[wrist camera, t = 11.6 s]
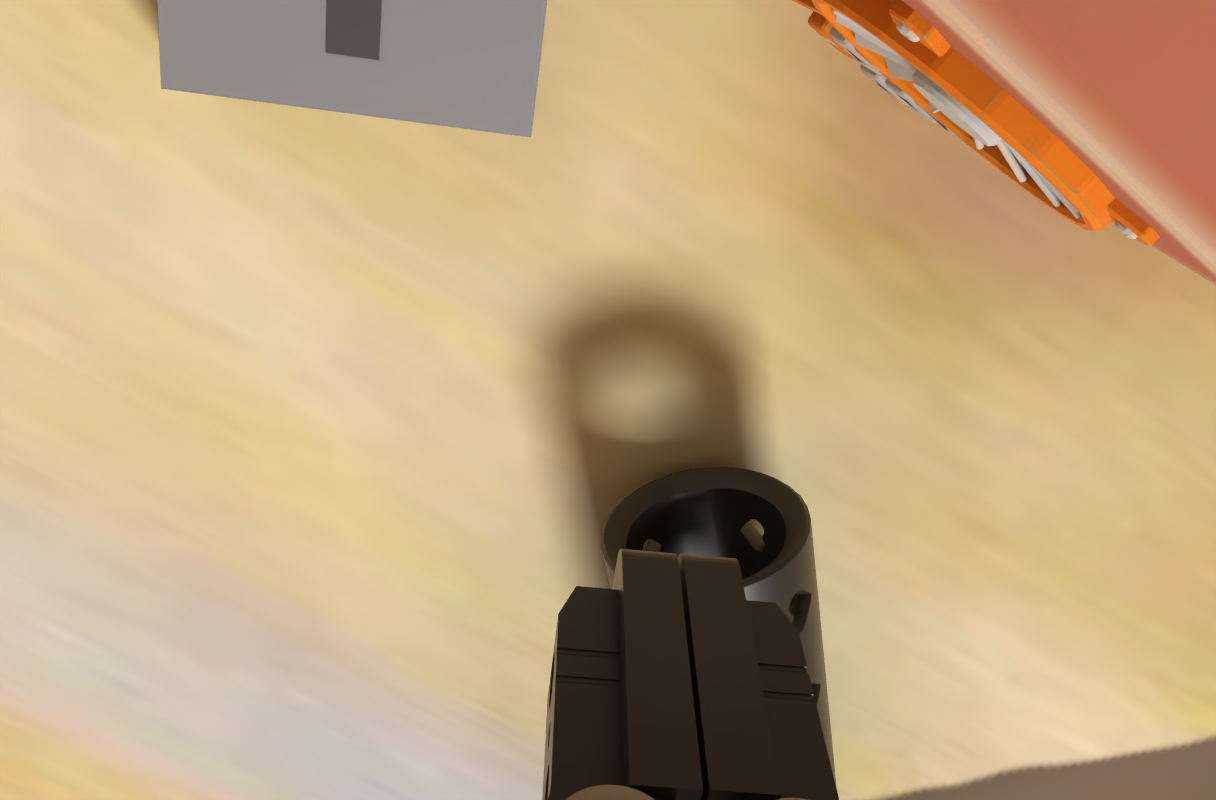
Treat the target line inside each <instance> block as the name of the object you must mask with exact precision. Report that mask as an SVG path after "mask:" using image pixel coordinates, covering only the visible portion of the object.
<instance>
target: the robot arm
mask: <svg viewBox="0 0 1216 800" xmlns="http://www.w3.org/2000/svg"><path fill="white" fill-rule="evenodd" d="M813 696H814V693H813V689H812V685H811V681H810V677H809V674H807V664H806V660H805V656H804V652H803V647H802V643H801V639H800V635H799V633H798V631H797V630H796V629H795V627H794V626H793V625H792V623H791V622H790V621H789V619H788V618H787V617H786V615H785V614H784V613H783V611H782V610H781V609H780V607H779V606H778V605H777V604H776V603H774V602H762V601H750V600H746V596H745V591H744V586H743V580H742V575H741V569H740V565H739V562H738V560H737V559H735V558H724V557H712V556H701V555H689V554H679V556H677V554H675V553H663V552H652V551H640V550H629V549H620V550H619V552H618V556H617V562H616V568H615V574H614V580H613V587H612V589H604V588H592V587H580V586H576V588H575V589H574V591H573V592H572V594H571V595H570V597H569V599H568V600H567V602H566V603H565V605H564V606H563V608H562V609H561V611H560V612H559V614H558V622H557V630H556V638H555V646H554V654H553V662H552V670H551V677H550V685H549V693H548V704H547V723H546V742H545V762H544V763H545V765H544V781H543V800H839V797H838V793H837V789H836V785H835V781H834V776H833V772H832V768H831V764H830V760H829V756H828V752H827V747H826V743H825V739H824V735H823V731H822V727H821V722H820V718H819V714H818V710H817V706H816V702H815V701H813Z"/></svg>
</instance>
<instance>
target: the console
mask: <svg viewBox="0 0 1216 800" xmlns="http://www.w3.org/2000/svg"><path fill="white" fill-rule="evenodd" d="M546 5H547V0H157V6H158V28H159V50H160V72H161V89H168V90H176V91H183V92H191V93H199V94H206V95H214V96H221V97H229V98H236V99H244V100H252V101H259V102H267V103H274V104H282V105H289V106H297V107H305V108H312V109H320V110H327V111H335V112H342V113H350V114H358V115H365V116H373V117H380V118H388V119H395V120H403V121H411V122H418V123H426V124H433V125H441V126H448V127H456V128H464V129H471V130H479V131H486V132H494V133H501V134H509V135H517V136H524V137H531V133H532V125H533V116H534V108H535V99H536V91H537V82H538V73H539V65H540V56H541V48H542V39H543V31H544V22H545V14H546Z"/></svg>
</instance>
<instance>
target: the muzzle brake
mask: <svg viewBox="0 0 1216 800" xmlns="http://www.w3.org/2000/svg"><path fill="white" fill-rule="evenodd" d="M751 519H755V520H757V521H758V522H760V523H761V525H762V526H763V528H764V535H763V536H761V535H760V534H759V533H758V532H757V531H756V530H755V529H754V527H753V526H752V525H751V524H749V523H748V521H749V520H751ZM647 539H651V540H650V541H649V543H648V545H647V548H646V551H652V552H663V553H675V554H677V556H679V554H689V555H701V556H712V557H724V558H735V559H737V560H738V562H739V565H740V569H741V575H742V580H743V586H744V591H745V596H746V600H750V601H762V602H774V603H776V604H777V605H778V606H779V607H780V609H781V610H782V611H783V613H784V614H785V615H786V617H787V618H788V619H789V621H790V622H791V623H792V625H793V626H794V627H795V629H796V630H797V631H798V633H799V635H800V639H801V643H802V647H803V652H804V656H805V660H806V664H807V674H809V677H810V681H811V685H812V689H813V693H814V696H813V701H815V702H816V706H817V710H818V714H819V718H820V722H821V727H822V731H823V735H824V739H825V743H826V747H827V752H828V756H829V760H830V764H831V768H832V772H833V776H834V781H835V785H836V779H835V768H834V758H833V747H832V737H831V727H830V716H829V706H828V695H827V685H826V674H825V664H824V653H823V643H822V632H821V622H820V611H819V601H818V590H817V580H816V569H815V559H814V548H813V538H812V527H811V518H810V515H809V511H808V507H807V505H806V504H805V502H804V501H803V499H802V497H801V496H800V495H799V494H798V493H797V492H795V491H794V490H793V489H792V488H791V487H790V486H788V485H786V484H785V483H783V482H781V481H779V480H778V479H776V478H773V477H770V476H768V475H765V474H762V473H760V472H755V471H751V470H746V469H739V468H728V467H719V468H704V469H694V470H689V471H683V472H678V473H675V474H673V475H668V476H666V477H663V478H660V479H658V480H655V481H652V482H651V483H649V484H647V485H645V486H643V487H641V488H639V489H637V490H636V491H635V492H633V493H632V494H631V495H629V496H628V497H626V498H625V499H624V500H623V501H622V502H621V503H620V504H619V505H618V506H617V507H616V508H615V509H614V510H613V511H612V513H611V514H610V516H609V517H608V519H607V520H606V522H605V524H604V527H603V530H602V533H601V550H602V555H603V559H604V564H605V568H606V573H607V578H608V581H609V585H610V588H611V589H612V587H613V580H614V574H615V568H616V562H617V556H618V552H619V550H620V549H629V550H640V551H642V548H643V545H644V543H645V541H646V540H647Z"/></svg>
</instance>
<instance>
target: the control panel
mask: <svg viewBox="0 0 1216 800" xmlns="http://www.w3.org/2000/svg"><path fill="white" fill-rule="evenodd" d="M793 1H795V2H797V3H799V4H801V5H803V6H805V7H807V8H809V9H811V10H812V11H813V13H812V15H811V16H810V17H809V20H808V23H809V25H810V26H811V27H812V28H813V29H814V30H816V31H817V32H818V33H819V34H820V35H821V36H822V37H824V38H825V39H826V40H827V41H828V42H829V43H830V44H832V45H833V46H834V47H835V48H836V49H837V50H838V51H840V52H841V53H843V54H845V55H846V56H848V57H850V58H851V59H856V60H857V61H859V62H860V63H861V64H862V65H861V67H860V68H861V70H862V72H864V73H865V74H866V75H867V76H868V77H869V78H870V79H872V80H873V81H874V82H875V83H876V84H877V85H878V86H880V87H881V88H882V89H883V90H884V91H885V92H887V93H888V94H889V95H890V96H891V97H893V98H894V99H896V100H898V101H899V102H901V103H902V104H904V105H909V106H910V107H911V108H912V109H913V110H914V111H916V112H917V113H918V114H920V115H921V116H923V117H925V118H926V119H928V120H929V121H931V122H933V123H938V124H939V125H940V126H941V127H942V128H944V129H945V130H946V131H947V132H948V133H950V134H952V135H953V136H955V137H956V138H958V139H960V140H961V141H963V142H964V143H966V144H967V145H969V146H970V147H971V148H972V149H974V150H975V151H976V152H977V153H979V154H980V155H981V156H982V157H984V158H985V159H986V160H988V161H989V162H990V163H991V164H993V165H994V166H995V167H996V168H998V169H999V170H1000V171H1001V172H1003V173H1004V174H1005V175H1007V176H1008V177H1010V178H1011V179H1012V180H1014V181H1015V182H1016V183H1018V184H1019V185H1020V186H1022V187H1023V188H1024V189H1026V190H1027V191H1028V192H1030V193H1031V194H1032V195H1034V196H1035V197H1036V198H1038V199H1039V200H1041V201H1042V202H1043V203H1045V204H1046V205H1048V206H1049V207H1051V208H1052V209H1054V210H1055V211H1056V212H1058V213H1059V214H1061V215H1062V216H1064V217H1065V218H1067V219H1069V220H1070V221H1072V222H1074V223H1075V224H1077V225H1079V226H1081V227H1082V228H1084V229H1086V230H1092V231H1102V230H1103V229H1104V228H1105V227H1106V226H1107V225H1108V224H1109V223H1110V222H1113V223H1115V227H1116V228H1117V229H1118V230H1119V231H1120V232H1121V233H1122V234H1123V235H1125V236H1126V237H1128V238H1130V239H1135V238H1136V239H1137V240H1139V241H1140V242H1142V243H1143V244H1146V245H1151V246H1152V247H1154V248H1156V249H1157V250H1159V251H1161V252H1162V253H1164V254H1166V255H1167V256H1169V257H1171V258H1172V259H1174V260H1175V261H1177V262H1179V263H1180V264H1182V265H1184V266H1185V267H1187V268H1189V269H1190V270H1192V271H1194V272H1195V273H1197V274H1199V275H1200V276H1202V277H1203V278H1205V279H1207V280H1208V281H1210V282H1212V283H1213V284H1215V285H1216V0H793Z"/></svg>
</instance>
